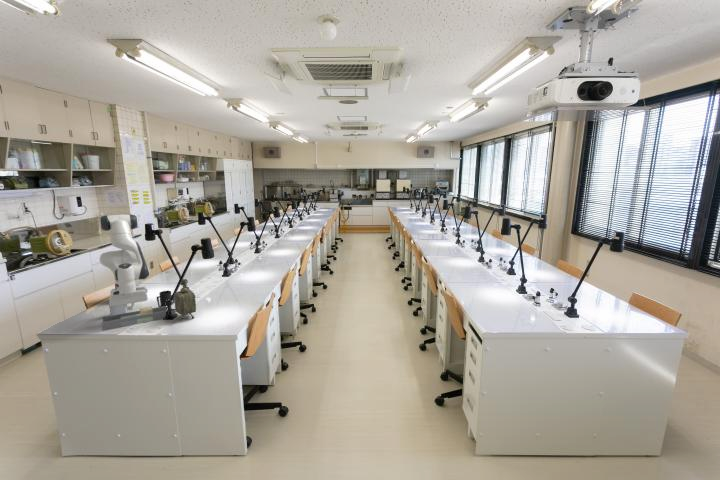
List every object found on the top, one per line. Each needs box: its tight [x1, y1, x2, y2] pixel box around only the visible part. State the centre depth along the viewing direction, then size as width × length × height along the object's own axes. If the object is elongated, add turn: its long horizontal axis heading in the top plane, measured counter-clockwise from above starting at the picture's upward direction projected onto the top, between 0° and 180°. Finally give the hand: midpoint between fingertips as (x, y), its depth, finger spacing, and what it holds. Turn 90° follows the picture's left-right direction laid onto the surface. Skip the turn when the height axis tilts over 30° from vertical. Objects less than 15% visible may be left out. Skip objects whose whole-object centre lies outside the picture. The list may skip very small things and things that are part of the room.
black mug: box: [156, 290, 172, 307], centre depth 235 cm, size 10×7×12 cm
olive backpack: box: [173, 280, 197, 319], centre depth 219 cm, size 14×9×25 cm, turn 44°
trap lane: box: [101, 306, 167, 331], centre depth 214 cm, size 10×35×5 cm, turn 126°
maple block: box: [138, 306, 153, 315], centre depth 217 cm, size 5×7×4 cm
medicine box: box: [108, 304, 127, 316], centre depth 224 cm, size 8×4×9 cm, turn 141°
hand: (129, 309), depth 212 cm, fingers closed
